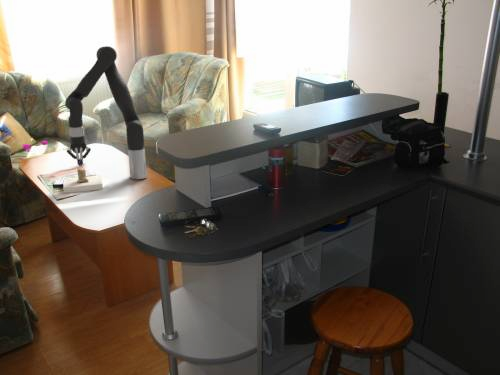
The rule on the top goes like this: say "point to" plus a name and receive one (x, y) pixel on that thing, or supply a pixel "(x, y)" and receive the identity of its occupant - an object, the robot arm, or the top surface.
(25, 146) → the toy block
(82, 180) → the oak peg
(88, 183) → the socket board
